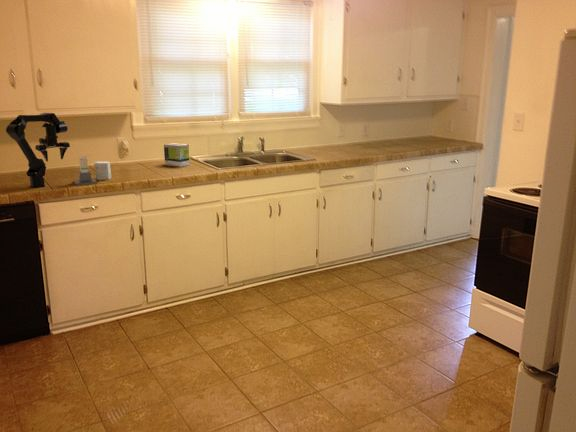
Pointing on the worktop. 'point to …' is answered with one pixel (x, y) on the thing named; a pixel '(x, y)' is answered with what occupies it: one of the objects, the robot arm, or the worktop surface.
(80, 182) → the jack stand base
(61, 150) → the robot arm
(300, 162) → the worktop surface
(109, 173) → the small box
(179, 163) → the tea box
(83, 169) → the white tall block
